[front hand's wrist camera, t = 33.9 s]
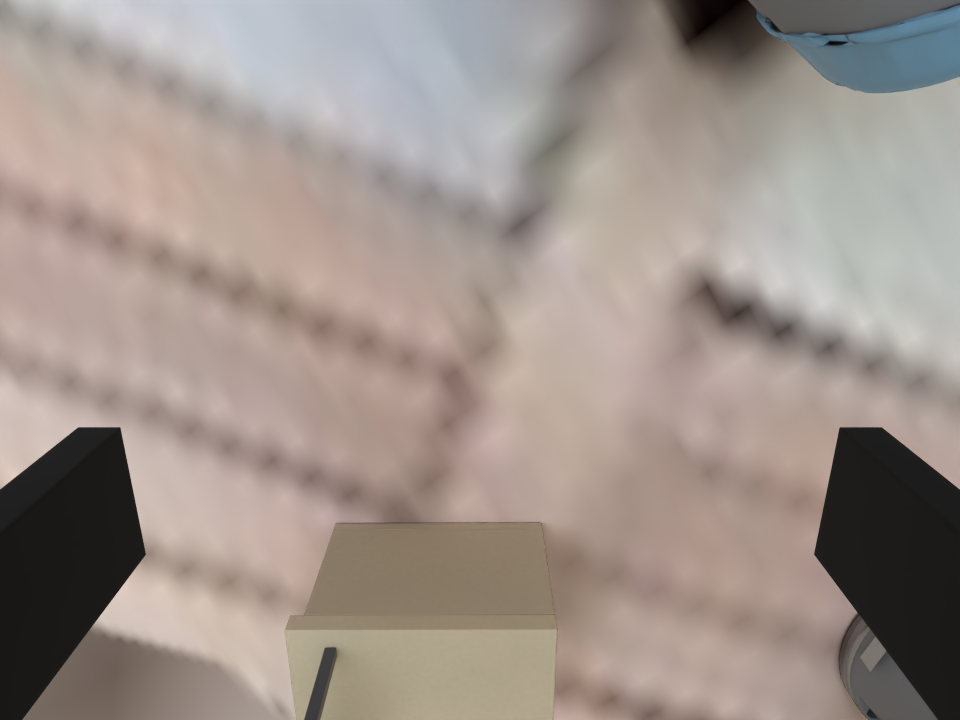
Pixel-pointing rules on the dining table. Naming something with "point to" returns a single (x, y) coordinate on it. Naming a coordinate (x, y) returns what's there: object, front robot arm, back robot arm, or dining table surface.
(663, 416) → the dining table surface
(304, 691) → the lid
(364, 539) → the chest
